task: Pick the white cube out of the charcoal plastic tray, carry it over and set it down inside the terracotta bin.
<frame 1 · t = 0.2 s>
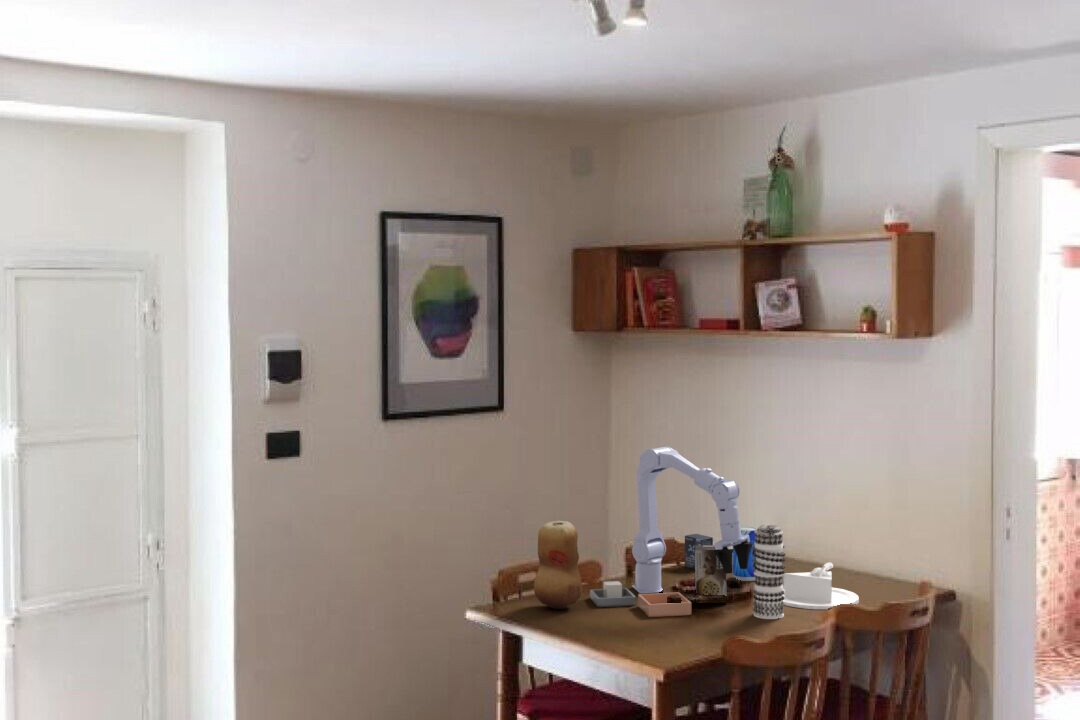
hand: (736, 571, 356), 11 cm above the table, tool pointing down, fingers open, 7 cm apart
beer can: (746, 579, 392), on the table
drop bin: (664, 610, 354), on the table
coffee box: (710, 602, 364), on the table
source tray: (612, 601, 364), on the table
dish: (815, 600, 366), on the table
butternut squash: (558, 608, 357), on the table
box: (698, 568, 408), on the table
white cube: (612, 600, 364), resting on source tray
decorative candle: (768, 615, 347), on the table
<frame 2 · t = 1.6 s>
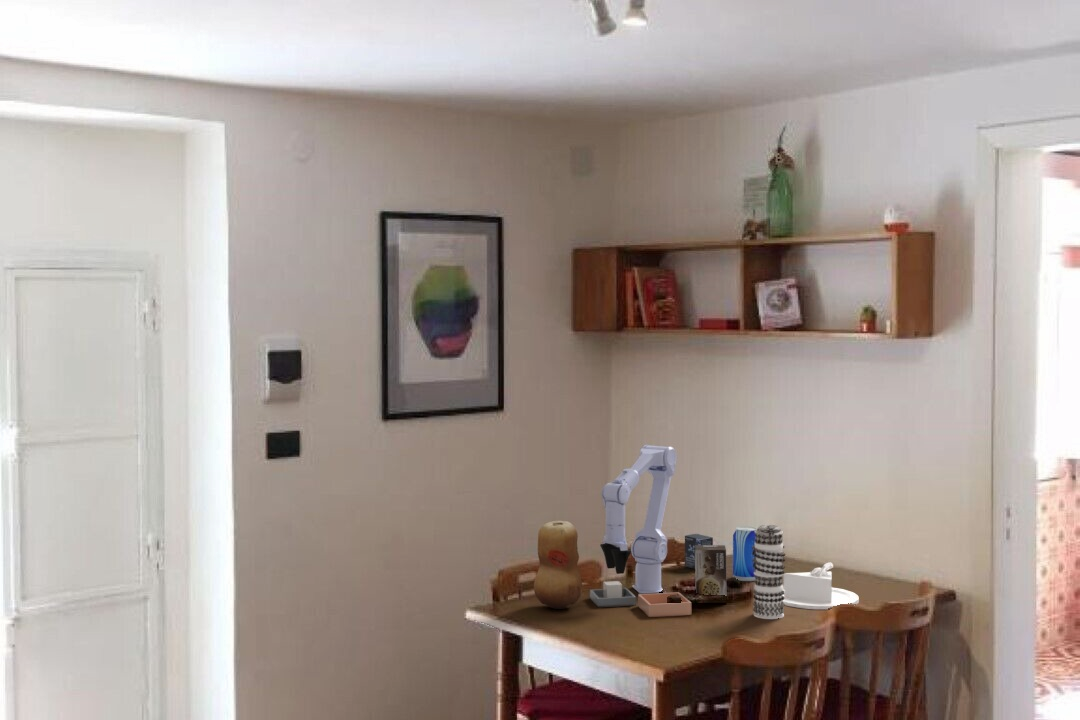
hand: (615, 570, 362), 10 cm above the table, tool pointing down, fingers open, 7 cm apart
nothing on the table moved.
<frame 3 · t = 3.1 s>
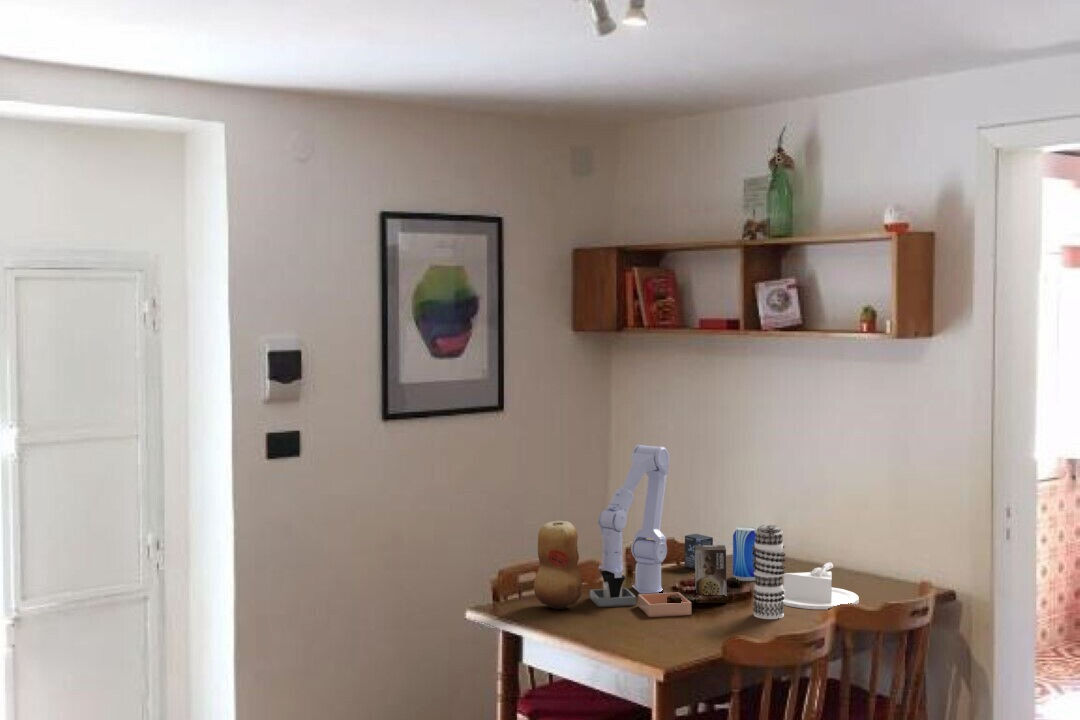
hand: (612, 597, 364), 1 cm above the table, tool pointing down, fingers closed on white cube, 4 cm apart
white cube: (612, 600, 364), resting on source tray, touching gripper
everything else where it was.
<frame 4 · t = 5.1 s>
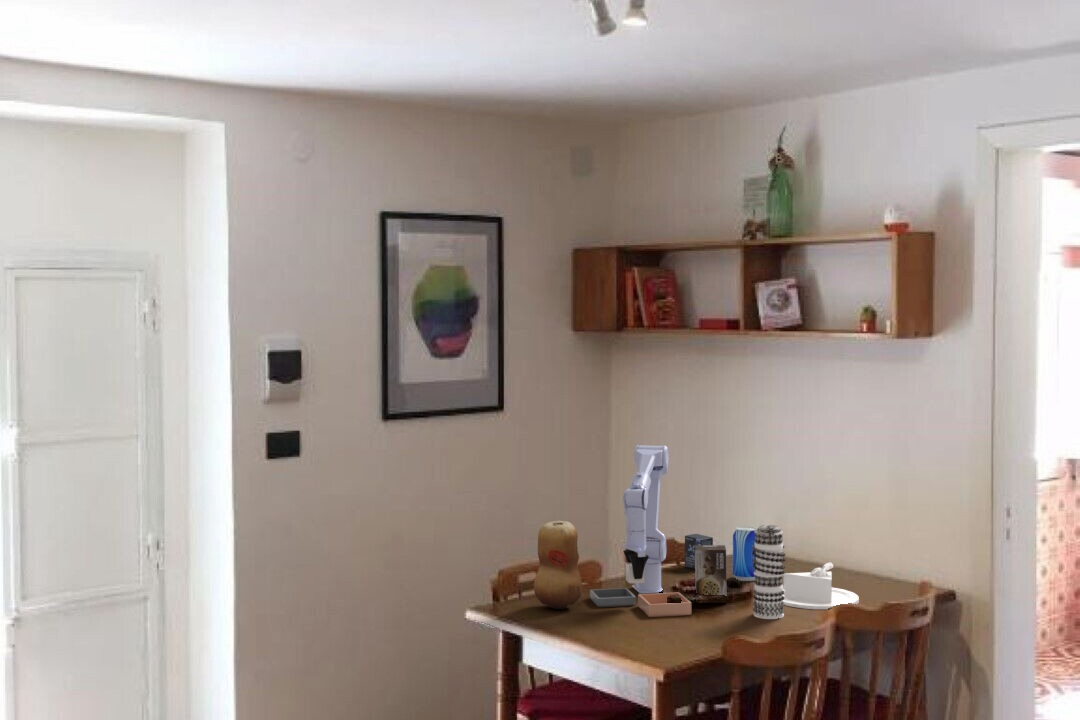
hand: (635, 576, 359), 8 cm above the table, tool pointing down, fingers closed on white cube, 4 cm apart
white cube: (635, 581, 359), point 7 cm above the table, touching gripper
everything else where it was.
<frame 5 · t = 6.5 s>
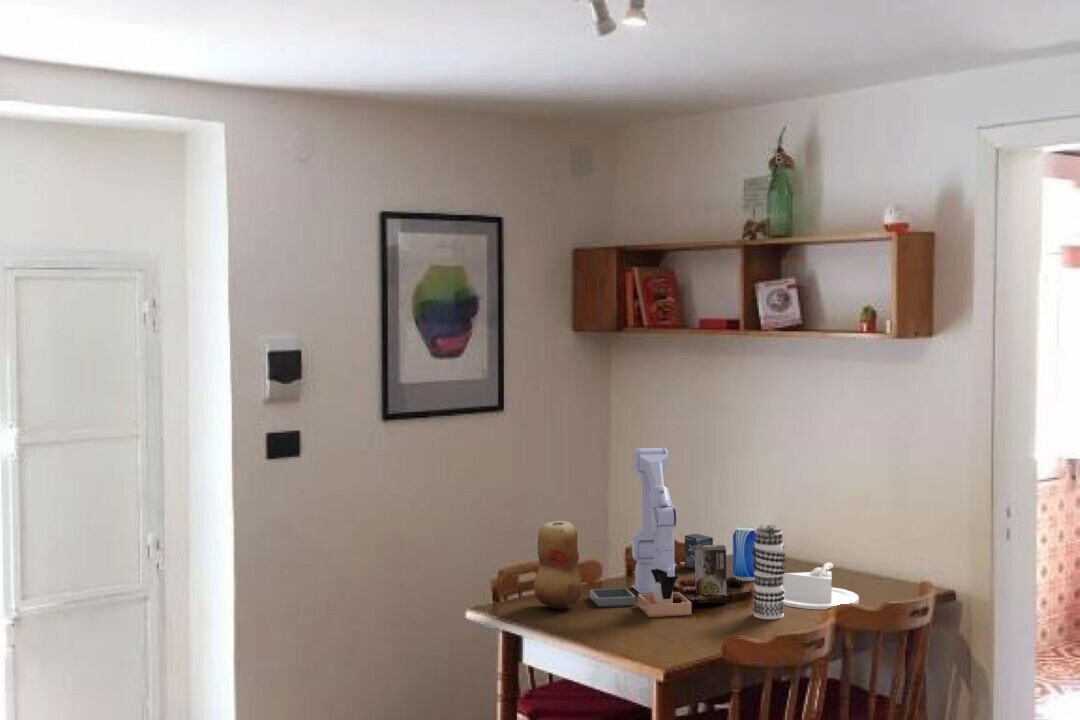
hand: (664, 596, 353), 4 cm above the table, tool pointing down, fingers closed on white cube, 5 cm apart
white cube: (663, 600, 353), point 3 cm above the table, touching gripper
everything else where it was.
when the fingers open (3 cm above the table, at t = 7.3 s): white cube stays where it is, resting on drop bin.
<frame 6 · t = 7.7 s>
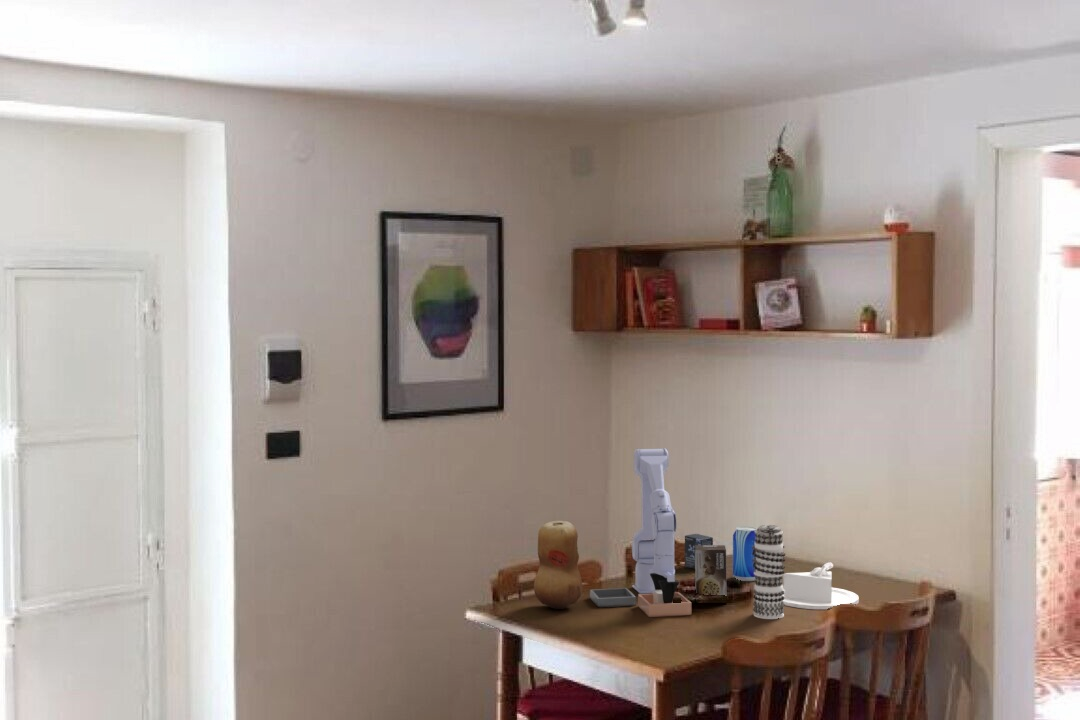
hand: (664, 601, 353), 3 cm above the table, tool pointing down, fingers open, 7 cm apart
white cube: (663, 608, 353), resting on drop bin
everything else where it was.
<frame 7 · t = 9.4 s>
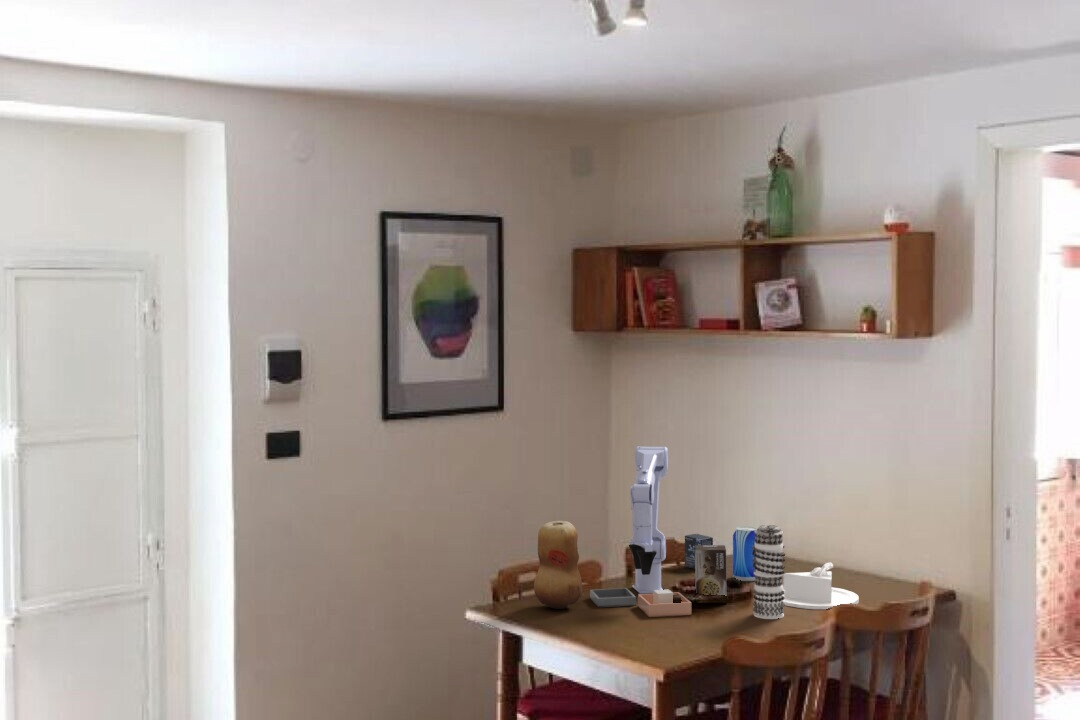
hand: (642, 571, 361), 9 cm above the table, tool pointing down, fingers open, 7 cm apart
nothing on the table moved.
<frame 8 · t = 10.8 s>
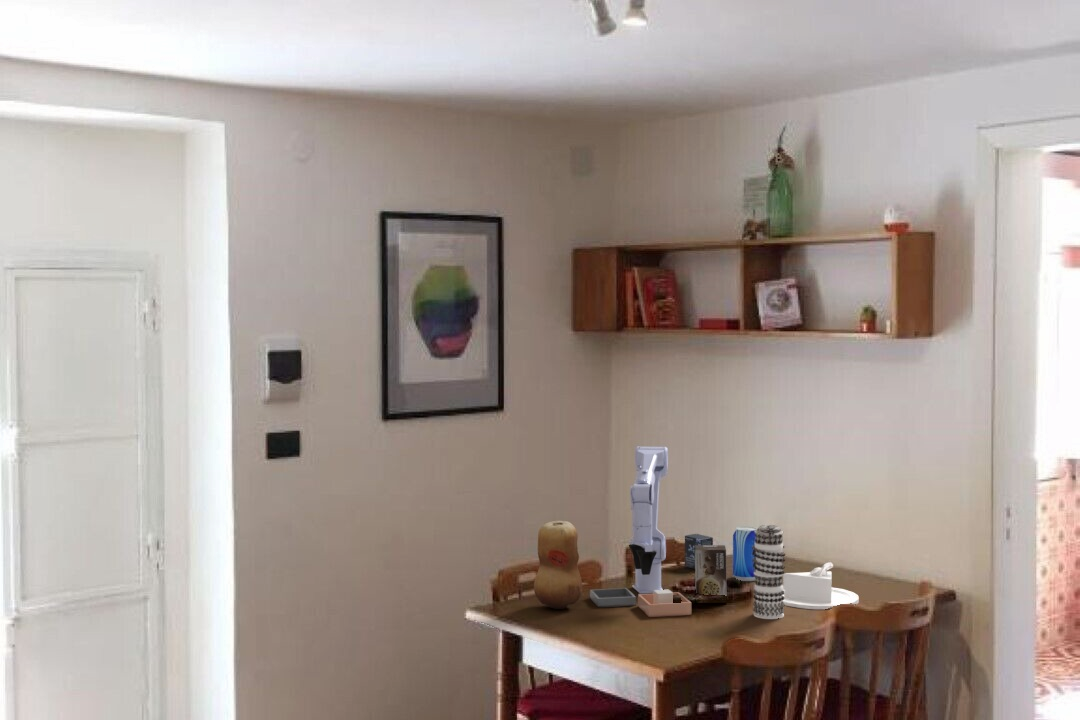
hand: (642, 571, 361), 9 cm above the table, tool pointing down, fingers open, 7 cm apart
nothing on the table moved.
at the end: white cube inside the target area on the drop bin (0.3 cm from its centre), point 0.5 cm above the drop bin's base; white cube tilted 0°; the gripper is holding nothing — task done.
